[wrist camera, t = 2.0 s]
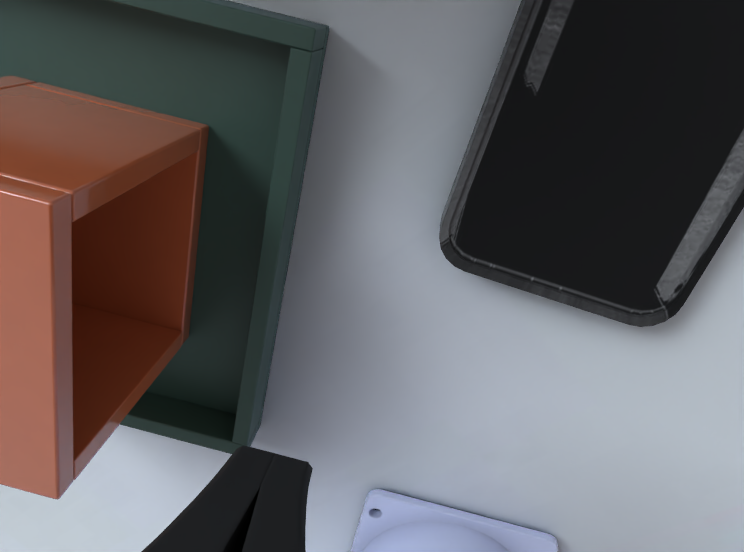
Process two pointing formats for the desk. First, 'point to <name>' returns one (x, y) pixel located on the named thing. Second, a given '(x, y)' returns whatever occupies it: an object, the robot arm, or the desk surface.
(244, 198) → the tray
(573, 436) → the desk surface
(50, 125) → the planter
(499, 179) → the phone
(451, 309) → the desk surface
